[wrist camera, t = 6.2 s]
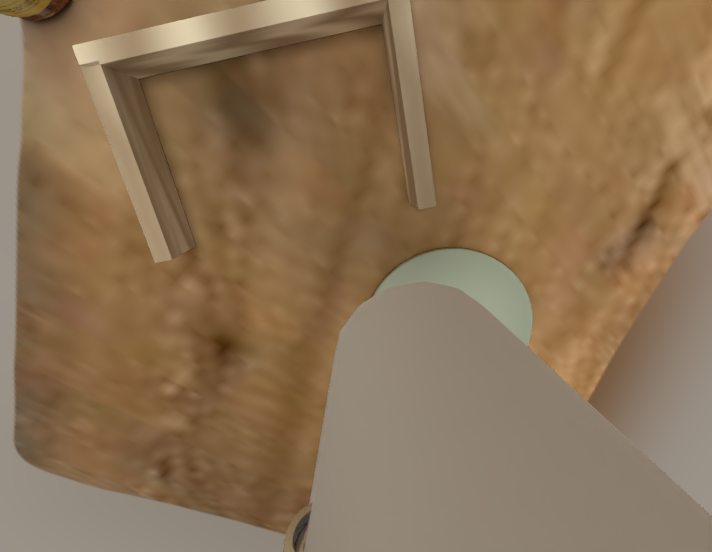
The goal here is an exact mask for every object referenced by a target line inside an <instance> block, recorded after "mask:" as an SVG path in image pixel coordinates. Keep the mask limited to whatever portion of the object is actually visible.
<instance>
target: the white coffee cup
mask: <svg viewBox="0 0 712 552" xmlns="http://www.w3.org/2000/svg"><path fill="white" fill-rule="evenodd" d="M311 503H312V508H311V513H310V518H309V522H308V531H307V538H306V544H305V545H304V552H712V516H711V515H710V514H709V513H708V512H707V511H706V510H705V509H704V508H702V507H701V506H700V505H699V504H698V503H697V502H696V501H695V500H694V499H693V498H692V497H691V496H689V495H688V494H687V493H686V492H685V491H684V490H683V489H682V488H681V487H680V486H679V485H677V484H676V483H675V482H674V481H673V480H672V479H671V478H670V477H669V476H668V475H667V474H666V473H664V472H663V471H662V470H661V469H660V468H659V467H658V466H657V465H656V464H655V463H653V462H652V461H651V460H650V459H649V458H648V457H647V456H646V455H645V454H643V452H642V451H641V450H639V449H638V448H637V447H636V446H635V445H634V444H633V443H632V442H631V441H630V440H629V439H627V438H626V437H625V436H624V435H623V434H622V433H621V432H620V431H619V430H617V428H615V427H614V426H613V425H612V424H611V423H610V422H609V421H608V420H607V419H605V417H603V416H602V415H601V414H600V413H599V412H598V411H597V410H596V409H595V408H594V407H593V406H591V405H590V404H589V403H588V402H587V401H586V400H585V399H584V398H583V397H582V396H581V395H580V394H579V393H577V392H576V391H575V390H574V389H573V388H572V387H571V386H570V385H569V384H568V383H567V382H565V381H564V380H563V379H562V378H561V377H560V376H559V375H558V374H557V373H556V372H555V371H554V370H552V369H551V368H550V367H549V366H548V365H547V364H546V363H545V362H544V361H543V360H542V359H540V358H539V357H538V356H537V355H536V354H535V353H534V352H533V351H532V350H531V349H530V348H529V347H527V346H526V345H525V344H524V343H523V342H522V341H521V340H520V339H519V338H518V337H517V336H515V335H514V334H513V333H512V332H511V331H510V330H509V329H508V328H507V327H506V326H505V325H503V324H502V323H501V322H500V321H499V320H498V319H497V318H496V317H495V316H494V315H493V314H492V313H490V312H489V311H488V310H487V309H486V308H485V307H484V306H483V305H481V304H480V303H479V302H477V301H476V300H474V299H473V298H471V297H470V296H468V295H467V294H466V293H464V292H463V291H461V290H460V289H458V288H455V287H450V286H445V285H440V284H436V283H431V282H426V281H422V282H416V283H411V284H405V285H399V286H393V287H389V288H387V289H385V290H384V291H382V292H380V293H379V294H377V295H375V296H374V297H372V298H370V299H369V300H367V301H365V302H364V303H362V304H360V305H359V307H358V308H357V309H356V311H355V312H354V313H353V315H352V316H351V317H350V318H349V320H348V321H347V322H346V324H345V325H344V326H343V328H342V329H341V330H340V334H339V339H338V343H337V347H336V352H335V356H334V361H333V368H332V374H331V380H330V386H329V392H328V398H327V403H326V409H325V415H324V421H323V427H322V433H321V439H320V445H319V451H318V457H317V463H316V469H315V475H314V481H313V487H312V492H311V498H310V504H311ZM310 504H309V505H310Z"/></svg>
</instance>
